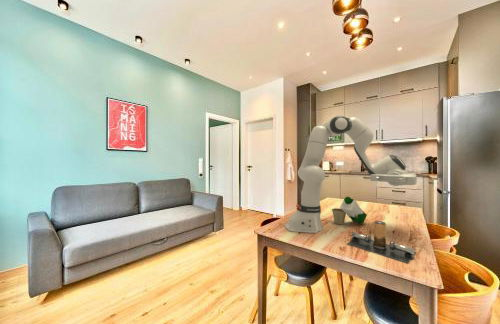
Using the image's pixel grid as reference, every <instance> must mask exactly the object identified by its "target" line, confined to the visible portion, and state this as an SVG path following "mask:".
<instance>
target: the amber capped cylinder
mask: <svg viewBox="0 0 500 324" xmlns="http://www.w3.org/2000/svg"><path fill="white" fill-rule="evenodd" d="M373 240H374V243H373V247H374V248H376V249H380V250H386V249H387V246H386V244H387V223H386V222H385V221H381V220H374V221H373Z"/></svg>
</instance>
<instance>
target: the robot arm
mask: <svg viewBox="0 0 500 324" xmlns="http://www.w3.org/2000/svg"><path fill="white" fill-rule="evenodd" d="M310 132H311V133H310V134H309V138H308V141H307V142H308V143H307V146H306V150H305V154H304V157H303V159H302V162H301V164H300V167H299V168H298V170H297V176H298V177H299V179H300V180H301V181H303V186H302V188H301V192H300V195H301V196H300V202H301V203H300V204H297V203H296V204H295V206H296V208H297V210H296V211H295V212H293V214H291V215H289V219H288V222H286V223H285V229H286V230H288V231H289V232H292V233H294V232H295V233H311V234H318V233H319V232H321V231H322V230H323V229H324V228H323V225H322V224H323V223H322V221H321V220H322V219H321V213H322V212H321V211H322V207H321V189H322V184H323V182H324V180H325V178H326V172H325V169H323V167H320V164H321V162H322V160H323V159H324V158H325V153H326V149H327V145H328V140H329V138H334V137H338V136H340V135H342V134H345V135H346V136H348V137H349V138H350V140H352V141H353V143H354V146H353V150H354V152H355V154H356V156H357V157H358V159H359V160H360V162H361V163H362V165H363V166H364V168H365V170H366V171H367V174H368V175H369V179H370V181H371V182H383V183H388V184H389V185H391V186H393V187H399V186H416V184H418V183H417V180H418V179H417V173H416V172H411V171H410V172H409V171H408V170H407V169H406V168H407V166H406V164H405V162H404V161H403V159H401V158H400V157H399V156H398V155H394V154H389V155H386V156H385V157H383V158H382V159H380V160H379V161H377V162H374V163H372V162H371V160H370V159H369V157H368V155H367V154H366V151H367V149H368V148H369V147H370V145H371V143H372V142H373V139H374V132H373V130H371V128H370V127H369V126H368V125H367V124H366V123H365V122H363V121H362V120H360V119H359V118H358V117H356V116H350V117H345V116H343V115H337V116H334V117H333V118H331V119H329V120H328V121H327V122H325V123H324V125H317V126H314V127H313V128H312V130H311V131H310Z"/></svg>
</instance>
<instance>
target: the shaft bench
mask: <svg viewBox="0 0 500 324" xmlns="http://www.w3.org/2000/svg"><path fill="white" fill-rule="evenodd" d="M350 236H351V240H350V241H349V242H347V243H346V245H348V246H350V247H355V248H358V249H361V250H364V251H367V252H370V253H374V254H377V255H380V256H383V257H384V258H385V257H386V258H390V259H392V260H395V261H399V262H401V263H404V262H405V264H407V263H408V264H409V263H410V262H411V260H412V261H413V258H414V257H415V255H416V254H417V251H415V248H414V247H410V246H407V245H403V244H399V243H396V242H395V241H393V240H390V242H389V244H388V243H386V246H387V249H386V250H380V249H376V248H374V247H373V243H374V239H372V235H369V234H361V233H358V232H354V231H352V232H351V234H350Z"/></svg>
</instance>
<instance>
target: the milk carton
mask: <svg viewBox="0 0 500 324" xmlns="http://www.w3.org/2000/svg"><path fill="white" fill-rule="evenodd" d="M339 209H342V210H343V211H344V212H345V213H346V215H347V217H349V219H350V220H351V222H353V223H356V224H360V225H364V223H365V221H366V218H367V216H368V214H367V213H366V212H365V211H364V210H363V209H362V208H361V207H360V205H359V204H358V202H357V200H356V199H353V198H351V197H350V196H346V197H344V198H343V200H342V202H341V205H340V207H339Z"/></svg>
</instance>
